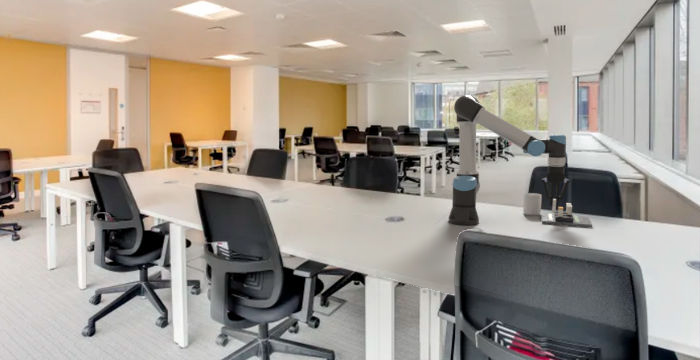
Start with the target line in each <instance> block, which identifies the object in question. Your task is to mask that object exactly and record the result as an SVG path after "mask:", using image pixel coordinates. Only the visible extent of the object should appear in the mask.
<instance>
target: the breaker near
mask: <svg viewBox="0 0 700 360" xmlns="http://www.w3.org/2000/svg"><path fill="white" fill-rule="evenodd" d="M557 207H558V209H557V211H558V216H559V217H563V211H564V207H563V206H557Z"/></svg>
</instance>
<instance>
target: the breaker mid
mask: <svg viewBox="0 0 700 360" xmlns="http://www.w3.org/2000/svg"><path fill="white" fill-rule="evenodd" d="M572 212H573V205H572V204H571V205H567V215H573V213H572Z"/></svg>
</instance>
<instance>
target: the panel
mask: <svg viewBox="0 0 700 360" xmlns="http://www.w3.org/2000/svg"><path fill="white" fill-rule="evenodd" d="M541 224H542V225H543V224H544V225H552V224H553V225H554V226H564V225H568V226H567V227H569V226H570V227H576V226H580V227H579V228H588V227H591V228H593V223H592V221H591V219H590V217H589V216H582V215H573V214H572V215H567V212H566V210H565V211H564V210H563V217H559V216H558V210H556V213H541ZM591 228H590V229H591Z"/></svg>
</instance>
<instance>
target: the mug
mask: <svg viewBox="0 0 700 360" xmlns="http://www.w3.org/2000/svg"><path fill="white" fill-rule="evenodd" d="M522 211H523V213H524V215H527V216H539V215H541V214H542V213H541V211H542V194H541V193H536V192H534V193H533V192H527V193H524V194H523V210H522Z"/></svg>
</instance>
